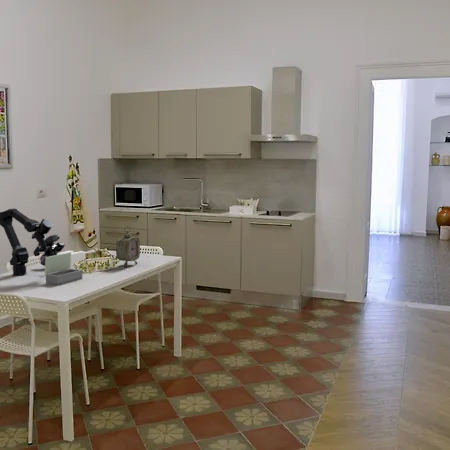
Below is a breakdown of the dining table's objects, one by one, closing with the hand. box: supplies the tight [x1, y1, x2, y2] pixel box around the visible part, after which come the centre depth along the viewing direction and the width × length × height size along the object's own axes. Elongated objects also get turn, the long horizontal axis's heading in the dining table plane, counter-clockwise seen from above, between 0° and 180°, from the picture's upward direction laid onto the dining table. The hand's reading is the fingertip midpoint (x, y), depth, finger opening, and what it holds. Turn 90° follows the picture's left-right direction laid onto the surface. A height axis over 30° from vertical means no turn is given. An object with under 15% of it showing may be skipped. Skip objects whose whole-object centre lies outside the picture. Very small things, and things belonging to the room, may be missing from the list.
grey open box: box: [45, 269, 83, 287], centre depth 296 cm, size 9×18×5 cm, turn 150°
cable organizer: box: [57, 250, 86, 271], centre depth 323 cm, size 15×11×12 cm
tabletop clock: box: [115, 225, 141, 268], centre depth 338 cm, size 14×9×25 cm, turn 158°
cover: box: [44, 252, 71, 275], centre depth 297 cm, size 9×18×1 cm
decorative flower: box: [39, 252, 60, 267], centre depth 333 cm, size 14×12×15 cm
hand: (57, 260), depth 297 cm, fingers closed, pressing on cover
